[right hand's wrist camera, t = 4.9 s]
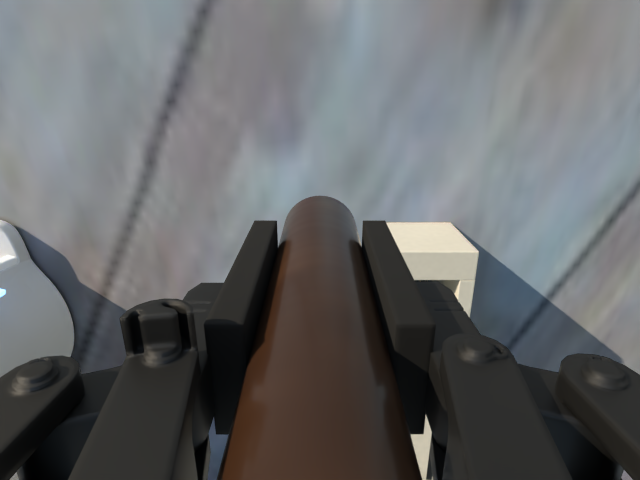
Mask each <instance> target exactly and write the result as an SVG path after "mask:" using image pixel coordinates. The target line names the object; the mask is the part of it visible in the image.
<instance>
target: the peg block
mask: <svg viewBox="0 0 640 480" xmlns="http://www.w3.org/2000/svg"><path fill="white" fill-rule="evenodd" d="M386 224H387V226H388V228H389V230H390V232H391V234H392V236H393V238H394V240H395V242H396V244H397V246H398V248H399V250H400V252H401V254H402V256H403V258H404V260H405V262H406V264H407V266H408V268H409V270H410V272H411V274H412V277H413V279H414V280H432V282H440V283H441V284H443V285H444V286H446V287H447V288H449V289H451V290H452V292H453V293H454V295H455V296H456V298H457V299H458V302H460V304H461V305H462V307H463V308H464V311H465V312H466V313H467V315H468V316H469V318H470V313H471V306H472V299H473V292H474V285H475V277H476V271H477V264H478V257H479V251H478V250H477V249H476V248H475V247H474V246H473V245H472V244H471V243H470V242H469V241H468V240H467V239H466V238H465V237H464V236H463V235H462V234H461V233H460V232H459V231H458V230H457V229H456V228H455V227H454V226H453V225H452V224H451V223H386ZM431 435H432V431H431V428H430V425H429V422H428V419H427V416H426V417H425V426H424V434H411V438H412V442H413V446H414V449H415V453H416V457H417V461H418V465H419V469H420V472H421V476H422V480H426V476H427V467H428V459H429V451H430V443H431ZM432 480H433V477H432Z"/></svg>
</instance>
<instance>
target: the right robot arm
mask: <svg viewBox="0 0 640 480" xmlns="http://www.w3.org/2000/svg"><path fill="white" fill-rule="evenodd" d="M277 250H278V239H277V221H254V223H253V225H252V227H251V229H250V231H249V233H248V235H247V237H246V239H245V241H244V243H243V245H242V247H241V249H240V252H239V254H238V256H237V258H236V260H235V262H234V264H233V266H232V268H231V270H230V272H229V274H228V276H227V278H226V280H225V282H224V283H201V284H199V285H198V286H196V287H195V288H193V289H191V290H190V291H188V293H187V294H186V296H185V297H184V299H183V301H182V300H179V299H159V300H153V301H148V302H145V303H142V304H139V305H137V306H135V307H133V308H131V309H129V310H128V311H126V312H125V313H124V314H123V315H122V316H121V317H120V323H121V328H122V334H123V339H124V344H125V349H126V354H127V357H126V359H125V361H124V363H123V365H122V366H119V367H115V368H111V369H106V370H101V371H96V372H91V373H86V374H81V371H80V366H79V363H78V362H77V361H76V360H75V359H74V358H71V357H67V356H47V357H41V358H37V359H34V360H31V361H29V362H27V363H25V364H22V365H20V366H17V367H15V368H14V369H12V370H11V371H9V372H8V373H6V374H4V375H3V376H2V377H0V480H9V479H10V478H11V477H12V476H13V475H14V474H15V473H16V472H17V474H18V477H19V480H207V478H208V470H209V461H210V453H211V451H210V443H209V435H208V433H209V430H210V427H211V423H212V420H213V417H214V420H215V429H216V434H229V431H230V428H231V424H232V420H233V416H234V413H235V409H236V405H237V401H238V397H239V394H240V390H241V386H242V382H243V379H244V375H245V371H246V367H247V363H248V360H249V356H250V352H251V348H252V345H253V341H254V337H255V333H256V330H257V326H258V322H259V318H260V314H261V311H262V307H263V303H264V299H265V296H266V292H267V288H268V284H269V280H270V277H271V273H272V269H273V265H274V262H275V258H276V254H277ZM362 250H363V254H364V258H365V262H366V266H367V269H368V273H369V277H370V281H371V285H372V289H373V292H374V296H375V300H376V304H377V308H378V312H379V315H380V319H381V323H382V327H383V331H384V335H385V338H386V342H387V346H388V350H389V354H390V358H391V361H392V365H393V369H394V373H395V377H396V380H397V384H398V388H399V392H400V396H401V400H402V403H403V407H404V411H405V415H406V419H407V423H408V426H409V430H410V434H424V426H425V417H426V416H427V419H428V422H429V425H430V428H431V431H432V435H431V443H430V451H429V459H428V467H427V476H426V480H432V477H433V480H622V479H621V476H622V473H623V470H625V471H626V472H627V473H628V474H629V476H630V477H631V478H632V479H633V480H640V375H639V374H637V373H636V372H634V371H633V370H631V369H630V368H628V367H627V366H625V365H623V364H620V363H618V362H616V361H613V360H612V359H610V358H607V357H603V356H602V357H601V356H599V355H593V354H574V355H569V356H567V357H565V358H564V359H563V360H562V361H561V365H560V369H559V373H558V372H553V371H548V370H543V369H538V368H533V367H528V366H524V365H521V364H517V362H516V360H515V358H514V356H513V355H512V353H511V352H510V351H509V350H508V348H507V347H505V346H504V345H502V344H501V343H499V342H498V341H496V340H493V339H491V338H488V337H486V336H482V335H480V333H479V331H478V330H477V328H476V327H475V325H474V324H473V322H472V321H471V319H470V318H469V316H468V315H467V313H466V312H465V311H464V308H463V307H462V305H461V304H460V302H458V299H457V298H456V296H455V295H454V293H453V292H452V290H451V289H449V288H447V287H446V286H444V285H443V284H441V283H440V282H415V281H414V279H413V277H412V274H411V272H410V270H409V268H408V266H407V264H406V262H405V260H404V258H403V256H402V254H401V252H400V250H399V248H398V246H397V244H396V242H395V240H394V238H393V236H392V234H391V232H390V230H389V228H388V226H387V224H386V222H385V221H363V232H362Z"/></svg>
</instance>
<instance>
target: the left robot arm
mask: <svg viewBox="0 0 640 480" xmlns="http://www.w3.org/2000/svg"><path fill="white" fill-rule="evenodd" d="M73 346H74V327H73V321H72V318H71V314H70V312H69V309H68V307H67V305H66V303H65V301H64V299H63V297H62V296H61V294H60V293H59V291H58V290H57V288H56V287H55V286H54V284H53V283H52V282H51V281H50V280H49V279H48V278H47V277H46V276H45V274H44V273H43V272H42V271H41V270H40V269H39V268H38V267H37V266H36V265H35V263H34V262H33V261H32V259H31V258H30V255H29V253H28V250H27V248H26V246H25V244H24V241H23V239H22V237H21V236H20V234H19V232H18V231H17V230H16V228H15V227H14V226H13V225H11V224H10V223H8V222H6V221H3V220H0V377H2V376H3V375H4V374H6V373H8V372H9V371H11V370H12V369H14V368H15V367H17V366H20V365H22V364H25V363H27V362H29V361H31V360H34V359H37V358H41V357H47V356H67V357H71V354H72V350H73Z"/></svg>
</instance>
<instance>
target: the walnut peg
mask: <svg viewBox="0 0 640 480" xmlns="http://www.w3.org/2000/svg"><path fill="white" fill-rule="evenodd" d="M217 480H422V476H421V472H420V469H419V465H418V461H417V457H416V453H415V449H414V446H413V442H412V438H411V434H410V430H409V426H408V423H407V419H406V415H405V411H404V407H403V403H402V400H401V396H400V392H399V388H398V384H397V380H396V377H395V373H394V369H393V365H392V361H391V358H390V354H389V350H388V346H387V342H386V338H385V335H384V331H383V327H382V323H381V319H380V315H379V312H378V308H377V304H376V300H375V296H374V292H373V289H372V285H371V281H370V277H369V273H368V269H367V266H366V262H365V258H364V254H363V250H362V246H361V243H360V239H359V235H358V231H357V227H356V223H355V220H354V217H353V215H352V213H351V212H350V210H349V209H348V208H347V207H346V206H345V205H344V204H343V203H341V202H340V201H338V200H336V199H334V198H331V197H327V196H313V197H309V198H306V199H304V200H302V201H300V202H299V203H297V204H296V205H295V206H294V207H293V208H292V209H291V210H290V212H289V213H288V215H287V217H286V220H285V224H284V228H283V231H282V235H281V239H280V243H279V246H278V250H277V254H276V258H275V262H274V265H273V269H272V273H271V277H270V280H269V284H268V288H267V292H266V296H265V299H264V303H263V307H262V311H261V314H260V318H259V322H258V326H257V330H256V333H255V337H254V341H253V345H252V348H251V352H250V356H249V360H248V363H247V367H246V371H245V375H244V379H243V382H242V386H241V390H240V394H239V397H238V401H237V405H236V409H235V413H234V416H233V420H232V424H231V428H230V431H229V435H228V439H227V443H226V447H225V450H224V454H223V458H222V462H221V465H220V469H219V473H218V477H217Z"/></svg>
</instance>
